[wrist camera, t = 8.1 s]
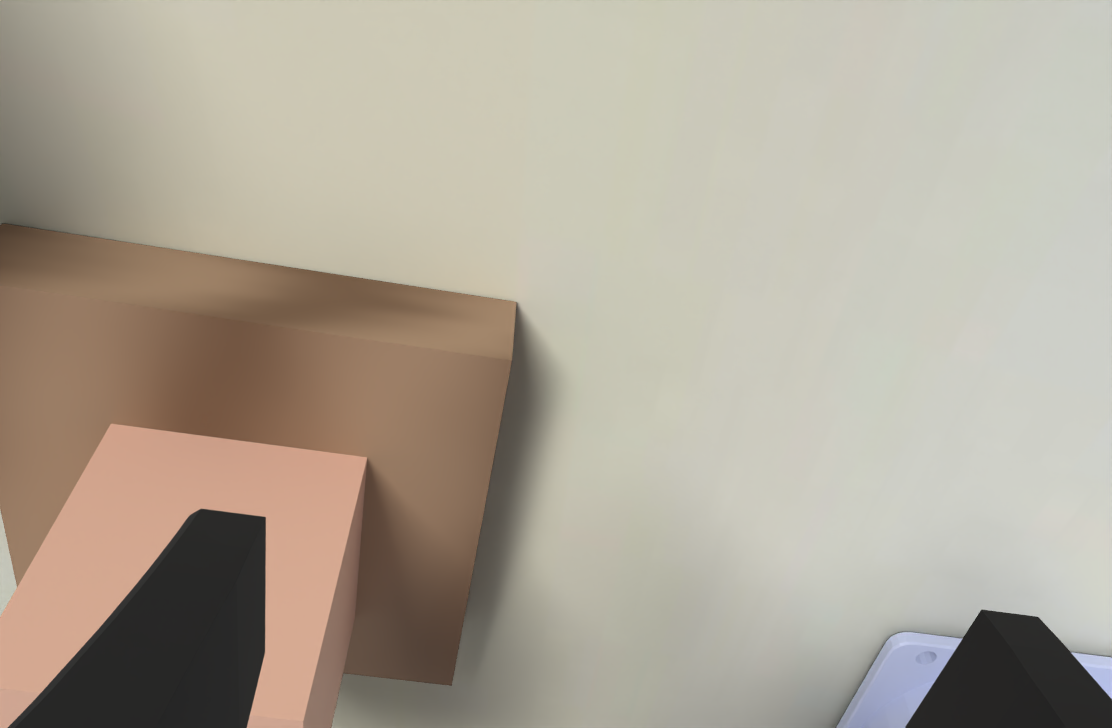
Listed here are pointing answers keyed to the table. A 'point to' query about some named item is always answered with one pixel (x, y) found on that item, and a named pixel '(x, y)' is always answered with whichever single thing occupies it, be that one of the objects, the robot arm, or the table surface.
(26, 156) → the table surface
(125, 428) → the block
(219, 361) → the board
